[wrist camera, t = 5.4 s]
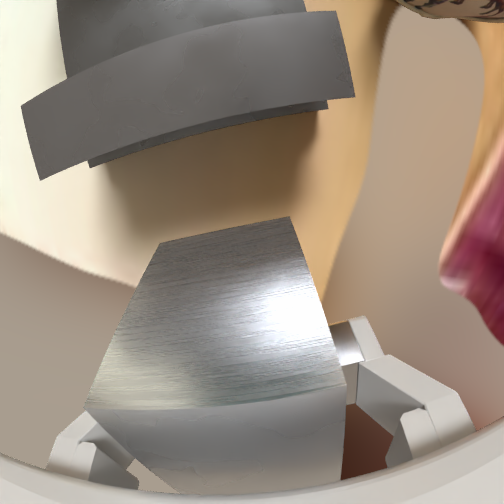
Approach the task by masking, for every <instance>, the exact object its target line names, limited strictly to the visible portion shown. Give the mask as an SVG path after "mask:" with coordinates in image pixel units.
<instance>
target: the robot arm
mask: <svg viewBox="0 0 504 504" xmlns="http://www.w3.org/2000/svg"><path fill="white" fill-rule="evenodd" d="M328 327H329V330H330V333H331V336H332V339H333V343H334V346H335V349H336V352H337V355H338V358H339V362H340V365H341V368H342V371H343V375H344V378H345V381H346V384H347V394H346V405H349V404H354V403H356V405H358V406H359V407H360V408H361V409H362V410H363V411H364V412H366V413H367V414H368V415H369V416H371V418H373V419H374V420H375V421H376V422H377V423H379V424H380V425H381V426H382V427H383V428H384V429H386V430H387V431H388V432H389V433H391V434H392V435H393V436H394V438H393V440H392V443H391V445H390V448H389V450H388V453H387V455H386V457H385V459H386V463H387V467H388V468H386V469H383V470H379V471H376V472H372V473H369V474H365V475H361V476H357V477H353V478H349V479H345V480H341V481H336V482H331V483H326V484H321V485H316V486H310V487H304V488H297V489H290V490H282V491H273V492H263V493H249V494H227V495H197V494H174V493H162V492H151V491H143V490H138V486H139V480H138V479H137V478H136V477H135V476H133V475H132V474H131V473H129V472H128V471H126V469H127V467H128V466H129V465H130V464H131V463H132V461H133V460H134V459H135V457H133V456H132V455H131V454H130V453H129V452H128V451H127V450H125V449H124V448H123V447H122V446H121V445H120V444H119V443H118V442H117V441H116V440H115V439H114V438H113V437H112V436H110V435H109V434H108V433H107V432H106V431H105V430H104V429H103V428H102V427H101V426H100V425H99V424H98V423H97V422H96V421H95V419H94V418H93V417H92V416H91V415H90V414H89V413H88V412H87V411H85V412H84V413H83V414H81V415H80V416H79V417H78V418H77V419H76V420H75V421H74V422H72V423H71V424H70V425H69V426H68V427H67V428H66V429H65V430H63V431H62V432H61V433H60V434H59V435H58V436H57V438H56V441H55V443H54V446H53V449H52V452H51V455H50V457H49V460H48V463H47V466H46V469H42V468H39V467H36V466H33V465H31V464H28V463H25V462H22V461H20V460H17V459H14V458H12V457H9V456H7V455H5V454H2V453H0V504H504V416H503V417H501V418H500V419H498V420H496V421H494V422H493V423H491V424H489V425H487V426H485V427H484V428H482V429H480V430H478V431H476V429H475V427H474V424H473V423H472V420H471V418H470V416H469V415H468V412H467V410H466V409H465V407H464V405H463V403H462V401H461V399H460V397H459V395H458V393H457V392H456V391H454V390H452V389H451V388H449V387H447V386H445V385H443V384H442V383H440V382H438V381H436V380H434V379H433V378H431V377H429V376H427V375H425V374H424V373H422V372H420V371H418V370H416V369H415V368H413V367H411V366H409V365H408V364H406V363H404V362H402V361H400V360H399V359H397V358H395V357H393V356H392V355H390V354H389V355H386V356H385V355H384V353H383V351H382V349H381V347H380V345H379V342H378V340H377V338H376V336H375V334H374V332H373V330H372V328H371V326H370V324H369V322H368V320H367V318H366V317H365V316H360V317H356V318H352V319H348V320H345V321H340V322H336V323H331V324H328Z"/></svg>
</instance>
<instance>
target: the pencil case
mask: <svg viewBox="0 0 504 504" xmlns="http://www.w3.org/2000/svg"><path fill="white" fill-rule="evenodd" d="M396 1H397V2H398V3H400V4H401V5H402V6H404V7H406V8H408V9H410V10H412V11H414V12H416V13H419V14H420V15H421V16H422V17H427V18H432V19H439V18H459V19H465V20H472V21H480V22H488V23H504V0H396Z"/></svg>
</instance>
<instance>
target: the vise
mask: <svg viewBox="0 0 504 504" xmlns="http://www.w3.org/2000/svg"><path fill="white" fill-rule="evenodd" d="M57 11H58V20H59V29H60V37H61V44H62V51H63V57H64V63H65V69H66V74H67V79H66V80H64V81H62V82H60V83H59V84H57V85H55V86H53V87H51V88H50V89H48V90H46V91H44V92H43V93H41V94H39V95H38V96H36V97H34V98H33V99H31V100H29V101H28V102H26V103H25V104H23V105H22V106H21V109H22V114H23V119H24V123H25V128H26V132H27V136H28V140H29V144H30V148H31V151H32V155H33V159H34V162H35V166H36V169H37V172H38V175H39V179H40V181H41V180H43V179H45V178H47V177H49V176H51V175H54V174H56V173H58V172H60V171H63V170H65V169H67V168H70V167H72V166H74V165H77V164H79V163H82V162H84V161H87V160H88V164H89V167H90V168H92V167H95V166H97V165H100V164H103V163H105V162H108V161H111V160H114V159H117V158H120V157H122V156H125V155H128V154H131V153H134V152H137V151H140V150H144V149H147V148H150V147H153V146H156V145H160V144H163V143H166V142H170V141H173V140H177V139H181V138H184V137H188V136H192V135H195V134H199V133H203V132H207V131H211V130H215V129H220V128H224V127H228V126H233V125H237V124H242V123H247V122H252V121H257V120H262V119H267V118H273V117H278V116H284V115H290V114H297V113H303V112H310V111H317V110H325V109H328V104H327V100H331V99H341V98H351V97H355V93H354V87H353V82H352V77H351V72H350V67H349V62H348V58H347V53H346V49H345V44H344V40H343V36H342V32H341V28H340V24H339V21H338V17H337V13H336V11H316V12H307V11H306V8H305V4H304V1H303V0H57Z"/></svg>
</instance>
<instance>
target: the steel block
mask: <svg viewBox="0 0 504 504" xmlns="http://www.w3.org/2000/svg"><path fill="white" fill-rule="evenodd" d="M346 394H347V384H346V381H345V378H344V375H343V371H342V368H341V365H340V362H339V358H338V355H337V352H336V349H335V346H334V343H333V339H332V336H331V333H330V330H329V327H328V324H327V322H326V318H325V315H324V312H323V309H322V306H321V303H320V300H319V297H318V294H317V291H316V288H315V285H314V283H313V280H312V277H311V274H310V271H309V268H308V265H307V263H306V260H305V257H304V254H303V252H302V249H301V246H300V243H299V241H298V238H297V235H296V232H295V230H294V227H293V224H292V222H291V219H290V216H289V217H284V218H278V219H273V220H268V221H263V222H258V223H253V224H248V225H243V226H238V227H233V228H228V229H224V230H219V231H214V232H209V233H205V234H200V235H195V236H190V237H186V238H181V239H177V240H172V241H168V242H163V243H160V244H159V246H158V248H157V250H156V252H155V253H154V255H153V257H152V259H151V261H150V263H149V265H148V267H147V268H146V270H145V272H144V274H143V276H142V278H141V280H140V282H139V284H138V286H137V288H136V290H135V292H134V294H133V296H132V298H131V300H130V302H129V304H128V306H127V308H126V310H125V313H124V315H123V317H122V319H121V321H120V323H119V325H118V327H117V329H116V332H115V334H114V336H113V338H112V340H111V343H110V345H109V347H108V349H107V352H106V354H105V356H104V358H103V361H102V363H101V365H100V368H99V370H98V373H97V375H96V377H95V380H94V382H93V385H92V387H91V390H90V392H89V395H88V397H87V400H86V402H85V405H84V409H85V410H86V411H87V412H88V413H89V414H90V415H91V416H92V417H93V418H94V419H95V421H96V422H97V423H98V424H99V425H100V426H101V427H102V428H103V429H104V430H105V431H106V432H107V433H108V434H109V435H110V436H112V437H113V438H114V439H115V440H116V441H117V442H118V443H119V444H120V445H121V446H122V447H123V448H124V449H125V450H127V451H128V452H129V453H130V454H131V455H132V456H133V457H135V458H136V459H137V460H138V461H139V462H141V463H142V464H143V465H144V466H145V467H146V468H148V469H149V470H150V471H151V472H153V473H154V474H155V475H156V476H158V477H159V478H160V479H161V480H163V481H164V482H166V483H167V484H168V485H169V486H171V487H172V488H173V489H175V490H176V491H178V492H179V493H180V494H197V495H227V494H249V493H263V492H273V491H282V490H290V489H297V488H304V487H310V486H316V485H321V484H326V483H331V482H336V481H340V476H341V467H342V457H343V444H344V432H345V415H346Z"/></svg>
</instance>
